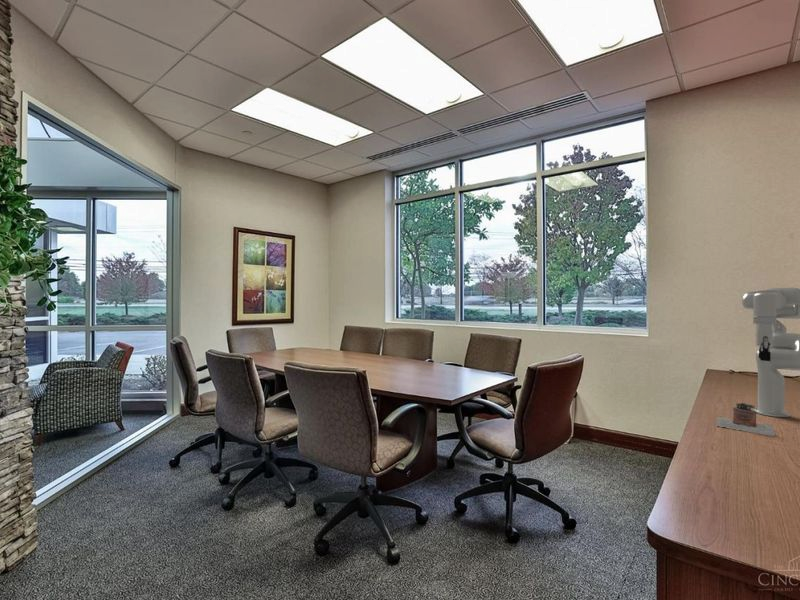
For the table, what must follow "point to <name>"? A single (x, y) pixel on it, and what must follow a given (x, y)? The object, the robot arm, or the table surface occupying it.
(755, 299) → the robot arm
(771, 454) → the table surface
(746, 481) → the table surface
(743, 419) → the lighter
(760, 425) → the track
